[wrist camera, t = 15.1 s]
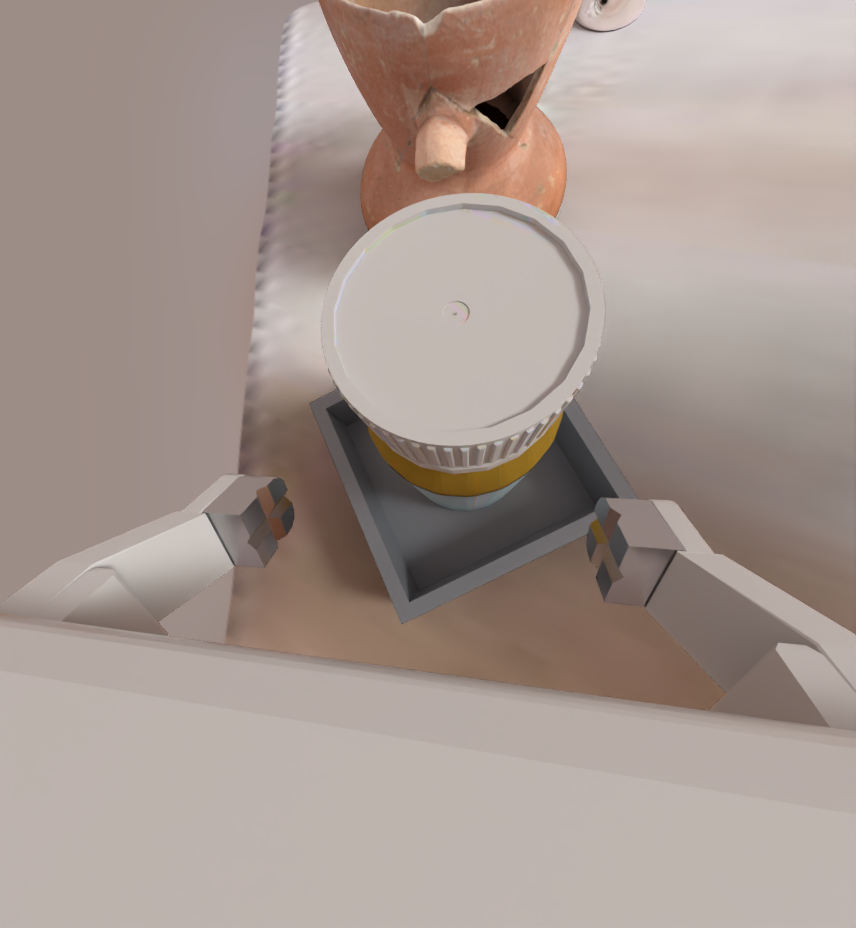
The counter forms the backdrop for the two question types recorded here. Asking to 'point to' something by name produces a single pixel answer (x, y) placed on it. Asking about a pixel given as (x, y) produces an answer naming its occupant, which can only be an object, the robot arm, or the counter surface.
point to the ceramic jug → (455, 97)
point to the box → (466, 532)
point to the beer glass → (608, 13)
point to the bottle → (463, 340)
